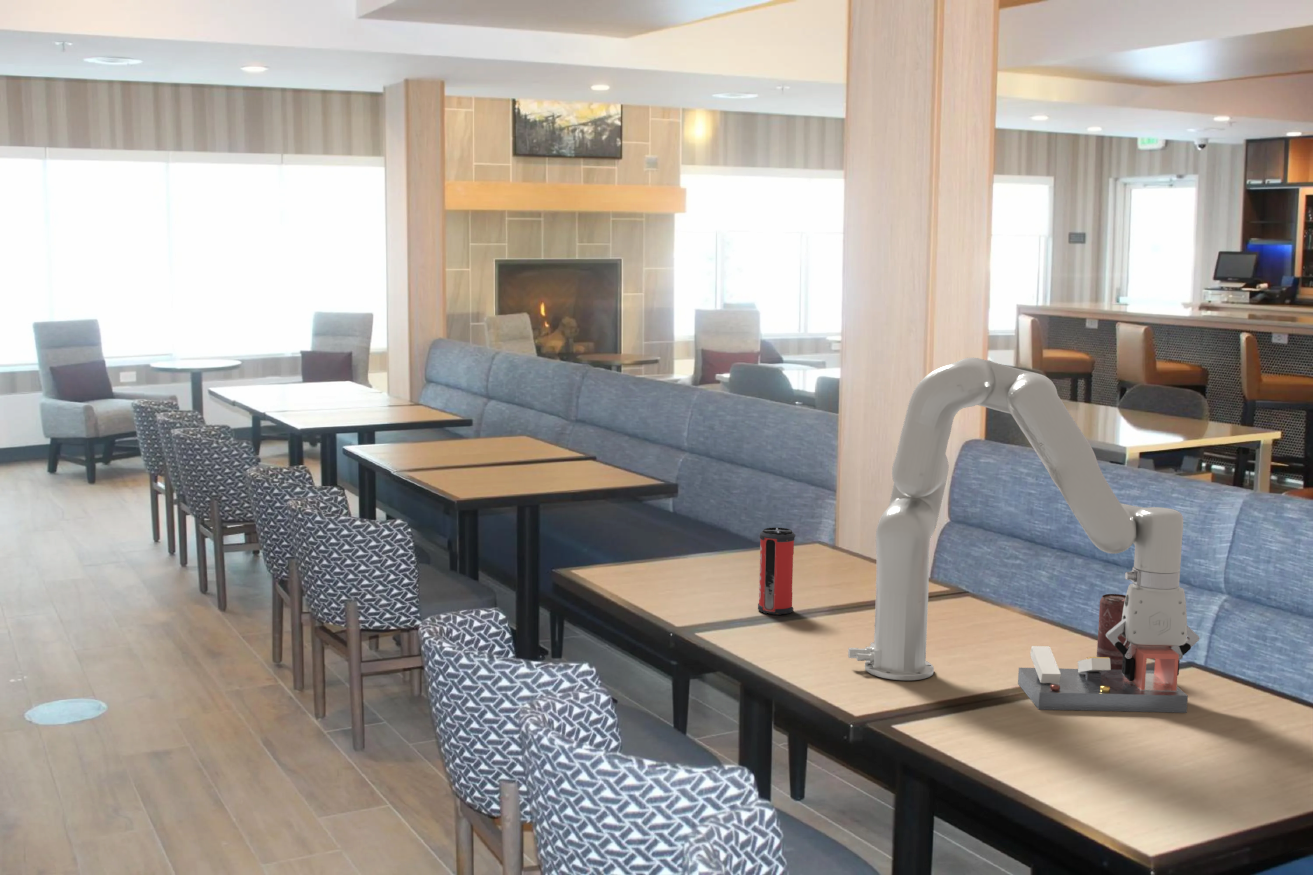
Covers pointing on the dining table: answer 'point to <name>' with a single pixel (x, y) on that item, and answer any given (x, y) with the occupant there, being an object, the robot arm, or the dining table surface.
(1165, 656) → the cap
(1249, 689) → the dining table surface
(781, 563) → the speaker
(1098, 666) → the block
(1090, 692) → the panel
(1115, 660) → the can
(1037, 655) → the block
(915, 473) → the robot arm
